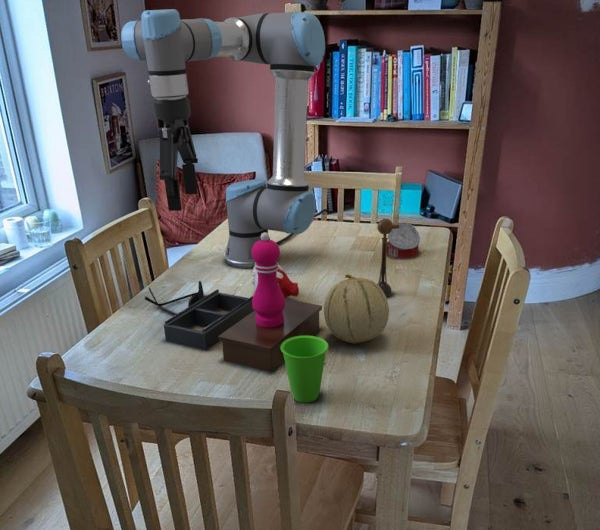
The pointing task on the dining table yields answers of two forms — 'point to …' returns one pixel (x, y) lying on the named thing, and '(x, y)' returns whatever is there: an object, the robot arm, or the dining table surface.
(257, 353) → the brown lidded box
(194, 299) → the sunglasses
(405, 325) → the dining table surface
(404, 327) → the dining table surface
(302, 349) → the cup
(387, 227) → the wooden tabletop sculpture
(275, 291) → the pepper mill
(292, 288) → the red white pronged ornament
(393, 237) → the canned food
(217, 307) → the black rectangular open tray
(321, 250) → the dining table surface
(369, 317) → the cantaloupe
